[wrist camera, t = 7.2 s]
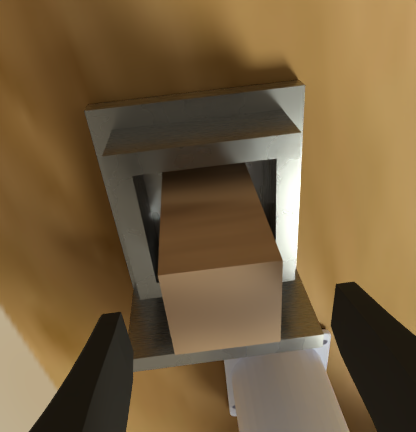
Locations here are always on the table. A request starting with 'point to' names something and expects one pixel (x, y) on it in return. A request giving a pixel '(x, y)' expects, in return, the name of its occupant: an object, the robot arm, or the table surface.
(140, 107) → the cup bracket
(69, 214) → the table surface
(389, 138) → the table surface
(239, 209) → the brown rectangular block
